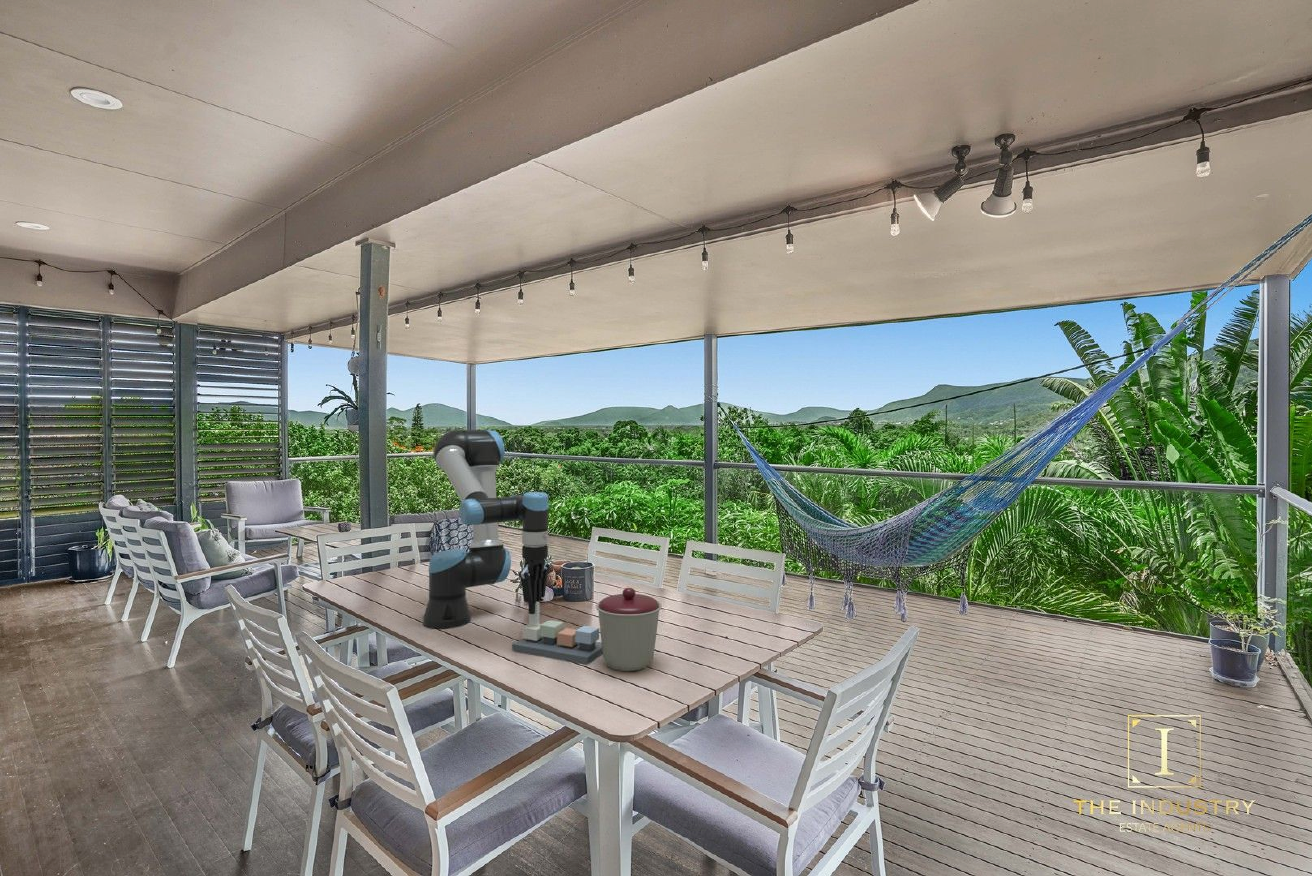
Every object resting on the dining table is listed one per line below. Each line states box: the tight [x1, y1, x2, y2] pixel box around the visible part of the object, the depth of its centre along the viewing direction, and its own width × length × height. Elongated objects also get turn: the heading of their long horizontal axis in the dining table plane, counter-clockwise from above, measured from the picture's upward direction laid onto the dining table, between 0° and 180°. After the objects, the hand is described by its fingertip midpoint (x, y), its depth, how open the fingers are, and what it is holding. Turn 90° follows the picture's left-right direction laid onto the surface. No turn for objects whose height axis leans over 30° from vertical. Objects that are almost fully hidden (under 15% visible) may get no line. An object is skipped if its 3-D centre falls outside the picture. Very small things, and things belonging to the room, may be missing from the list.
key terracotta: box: [557, 627, 578, 647], centre depth 173 cm, size 5×5×3 cm
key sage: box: [540, 620, 565, 638], centre depth 175 cm, size 5×5×3 cm
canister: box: [595, 587, 663, 672], centre depth 164 cm, size 18×18×21 cm
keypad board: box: [511, 637, 603, 665], centre depth 174 cm, size 25×12×4 cm, turn 67°
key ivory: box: [521, 623, 543, 641], centre depth 177 cm, size 5×5×3 cm
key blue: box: [575, 625, 600, 645], centre depth 170 cm, size 5×5×3 cm
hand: (534, 623), depth 178 cm, fingers closed
